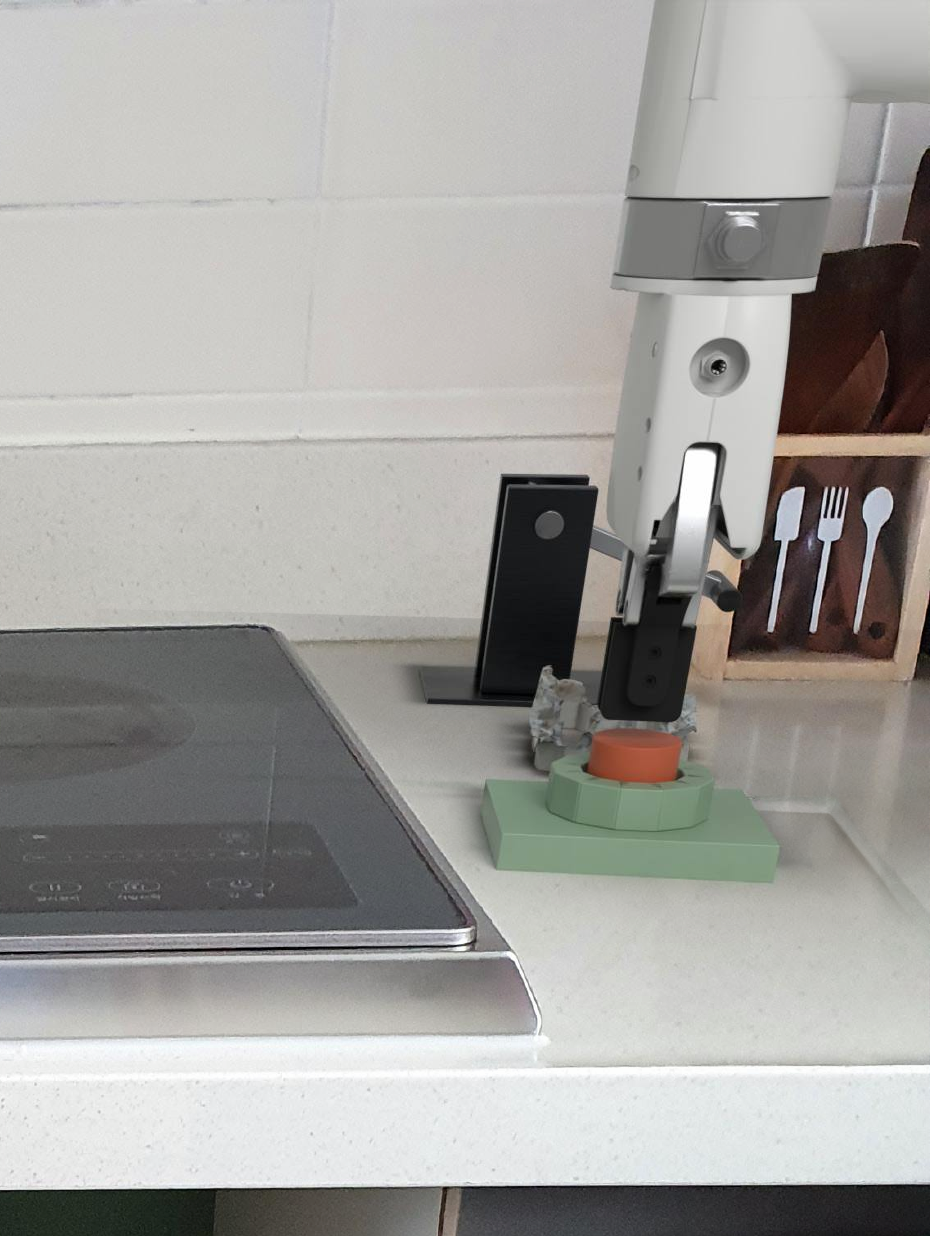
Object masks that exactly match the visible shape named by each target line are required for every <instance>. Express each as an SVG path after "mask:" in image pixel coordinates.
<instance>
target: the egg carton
mask: <svg viewBox="0 0 930 1236" xmlns="http://www.w3.org/2000/svg"><path fill="white" fill-rule="evenodd" d="M552 671H553V669H552V668H551V665H549V666H548V665H547V666H545V667H544V668H543V670H542V672H541V676H540V680H539V684H538V688H537V692H536V696H535V699H534V702H533V706H532V707H531V711H530V714H529V717H528V721H529V726H530V730H529V736H530V737H532V741H531V749H532V752H533V753H535V755H534V761H533V762H534V763H533V766H534V767H535V768H536V769H537V770H538V771H539V770H540V771H546V772H550V767H551V763H552V762H554V761H556V760H558V759H561V758H563V757H565V756H567V755H571V754H581V753H590V751H591V744H592V738H593V735H594V734H595V733H596V732H599V731H602V730H607V729H618V728H634V729H647V730H654V731H660V732H665V733H669V734H672V735H674V736H677V737H679V738H680V739H681V740H682V747H681V753H680V759H683V760H686V761H688V758H689V754H690V753H689V752H690V745H691V744H690V742H689V739H688V738H687V735H688V734H689V733H691V732H694V733H697V731H698V729H697V726H698V723H697V721H698V714H697V697H696V694H695V693H694V692H691V693H685V697H684V702H683V708H682V713H681V716H680V718H679V719H678V720H676V721H674V722H648V721H623V720H607V719H605V718H604V717H603V716H602V714H601V712H600V710H599V708H598V706H593V705H591V704H589V703H588V702H586V700H587V696H586V691H585V686H584V685H583V683H581V682H579V681H576V680H571V679H562V680H560V681H559V680H558V679H556V678H555V677H554V676H552ZM563 728H565V729H575V730H576V731H577V730H578V731H579V732H582V733H581V736H580V738H579V739H578V741H577V742H575V743H573V744H569V745H567V744H565V745H564V744H563V742H562V734H563Z"/></svg>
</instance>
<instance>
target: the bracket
mask: <svg viewBox="0 0 930 1236" xmlns="http://www.w3.org/2000/svg"><path fill="white" fill-rule="evenodd" d="M590 480H591V478H590V475H588V474H573V473H571V474H568V473H567V474H565V473H564V474H563V473H562V474H561V473H559V474H558V473H557V474H556V473H500V477H499V483H498V484H499V485H498V491H497V500H496V507H495V514H494V521H493V529H492V537H491V542H490V543H491V545H490V551H489V559H488V567H487V573H486V582H485V588H484V597H483V604H482V612H481V618H480V619H481V620H480V628H479V635H478V641H477V649H476V657H475V663H474V667H463V666H462V667H459V666H457V667H456V666H431V665H429V666H427V665H426V666H425V665H421V666H419V675H420V676H419V677H420V681H421V684H422V688H423V693H424V697H425V701H426V704H427V705H449V706H450V705H453V706H477V707H478V706H481V707H507V708H508V707H509V708H510V707H511V708H532V706H533V702H534V699H535V696H536V692H537V688H538V684H539V680H540V676H541V672H542V670H543V668H544V667H545V666H547V665H548V666H549V665H551V668H552V669H553V671H552V676H554V677H555V678H556V679H558V680H559V681H560V680H562V679H571V680H576V681H579V682H581V683H583V685H584V686H585V691H586V696H587V700H586V702H588V703H589V704H591V705H593V706H597V699H598V693H599V687H600V681H601V675H602V671H597V670H596V671H594V670H592V671H591V670H590V671H589V670H572V669H573V662H574V655H575V648H576V641H577V635H578V629H579V621H580V615H581V610H582V609H581V608H582V603H583V595H584V590H585V583H586V574H587V569H588V563H589V555H590V550H591V548H590V544H591V537H592V530H593V525H594V523H595V518H596V510H597V504H598V497H599V488H598V486H597V485H590ZM528 482H532V483H535V484H537V485H527V484H528Z"/></svg>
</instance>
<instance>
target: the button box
mask: <svg viewBox="0 0 930 1236" xmlns="http://www.w3.org/2000/svg"><path fill="white" fill-rule="evenodd" d="M589 757H590V753H581V754H571V755H567V756H565V757H563V758H561V759H558V760H556V761H554V762H552V763H551V767H550V771H549V773H548V774H549V775H548V781H539V780H536V781H535V780H517V779H516V780H514V779H491V778H490V779H489V778H487V779H485V780H484V787H483V795H482V802H481V807H480V808H481V809H480V816H481V820H482V824H483V827H484V831H485V834H486V838H487V841H488V845H489V849H490V852H491V856H492V859H493V863H494V867H495V870H496V871H504V872H505V871H508V872H524V873H525V872H527V873H546V874H547V873H548V874H549V873H550V874H567V875H568V874H569V875H589V876H610V877H611V876H612V877H629V878H632V877H633V878H653V879H673V880H696V881H715V882H733V883H734V882H735V883H753V884H755V883H756V884H774V881H775V875H776V870H777V864H778V859H779V854H780V849H781V845H780V844H779V842H778V841H777V839H776V838H775V837H774V835H773V834H772V832H771V830H770V829H769V827H768V826H767V824H766V823H765V822H764V820H763V818H762V817H761V815H760V814H759V813H758V811H757V810H756V808H755V806H754V805H753V803H752V802H751V801H750V799H749V798H748V797H747V795H746V793H745V792H744V790H743V789H741V788H737V789H736V788H714V787H715V784H716V783H715V782H716V778H715V776H714V775H713V773H712V772H711V770H710V769H709V768H708V767H706V766H703V765H701V764H697V763H695V762H692V761H689V760H687V761H686V760H683V759H679V764H678V770H677V776H676V781H670V782H660V783H638V782H621V781H615V780H609V779H603V778H598V777H595V776H593V775H590V774H587V770H588V763H589Z"/></svg>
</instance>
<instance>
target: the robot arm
mask: <svg viewBox="0 0 930 1236" xmlns="http://www.w3.org/2000/svg"><path fill="white" fill-rule="evenodd" d="M852 103H853V104H854V103H855V104H870V105H871V104H872V105H873V104H899V103H900V104H901V103H903V104H904V103H919V104H929V105H930V0H654V1H653V8H652V14H651V21H650V28H649V35H648V41H647V47H646V53H645V61H644V66H643V73H642V80H641V87H640V93H639V99H638V107H637V112H636V119H635V125H634V133H633V137H632V146H631V151H630V159H629V166H628V171H627V178H626V185H625V191H624V197H625V198H624V199H623V200H622V201H623V202H622V207H621V215H620V221H619V227H618V234H617V241H616V246H615V247H616V248H615V253H614V258H613V259H614V261H613V266H612V274H611V280H610V287H609V288H610V289H611V290H615V291H626V292H632V293H638V296H637V302H636V307H635V313H634V318H633V324H632V329H631V332H630V337H629V338H630V340H629V344H628V345H629V347H628V351H627V357H626V363H625V369H624V375H623V380H622V387H621V392H620V399H619V405H618V412H617V419H616V426H615V432H614V438H613V446H612V453H611V459H610V468H609V477H608V485H607V494H606V495H607V496H606V510H605V511H606V520H607V523H608V525H609V527H610V528H611V530H612V531H613V533H614V534H616V535H617V536H618V537H619V539H620V540H621V541H622V542H623V543H624V550H623V557H622V561H621V565H620V571H619V579H618V584H617V593H616V598H615V599H616V600H615V609H614V610H615V611H614V612H615V616H611V617H610V620H609V626H608V633H607V638H606V645H605V650H604V658H603V663H602V669H601V672H602V675H601V681H600V687H599V693H598V699H597V706H598V708H599V710H600V712H601V714H602V716H603V717H604V718H605V719H607V720H623V721H648V722H674V721H676V720H678V719H679V718H680V716H681V713H682V708H683V702H684V697H685V694H686V690H687V686H688V681H689V680H688V679H689V674H690V669H691V663H692V657H693V651H694V647H695V640H696V635H697V631H698V630H697V629H698V626H697V625H696V623H697V620H698V615H699V609H700V605H701V601H702V596H703V595H702V592H703V587H704V582H705V577H706V573H707V572H708V568H709V562H710V558H711V553H712V548H713V543H714V540H715V541H716V542H717V543H718V544H719V545H720V546H721V547H722V548H723V549H724V550H725V551H726V552H728V553H729V554H730V555H731V557H733V559H735V560H747V559H749V558H750V557H751V556H753V555H754V554H755V553H756V552H757V551H758V549H759V548H760V546H761V542H762V537H763V532H764V525H765V518H766V511H767V504H768V498H769V491H770V485H771V484H770V483H771V476H772V470H773V464H774V456H775V451H776V443H777V437H778V431H779V423H780V418H781V417H780V416H781V409H782V401H783V396H784V388H785V381H786V371H787V363H788V355H789V345H790V334H791V333H790V331H791V319H792V296H793V295H792V294H806V293H812V292H815V291H816V286H817V281H818V274H819V271H820V266H821V263H822V257H823V252H824V246H825V241H826V235H827V230H828V225H829V221H830V214H831V209H832V205H833V198H832V197H833V196H834V194H835V189H836V184H837V178H838V173H839V167H840V163H841V157H842V153H843V148H844V143H845V137H846V132H847V126H848V120H849V117H850V110H851V106H852Z"/></svg>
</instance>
